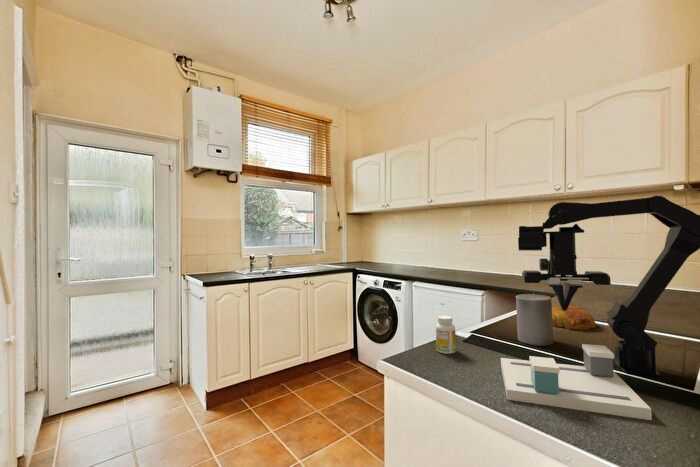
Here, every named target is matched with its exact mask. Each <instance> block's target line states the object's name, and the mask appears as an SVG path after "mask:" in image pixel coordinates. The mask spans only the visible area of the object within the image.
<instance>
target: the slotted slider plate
mask: <svg viewBox="0 0 700 467" xmlns="http://www.w3.org/2000/svg"><path fill="white" fill-rule="evenodd" d="M556 364H557V365H558V367H559V370H560V374H558V384H559V394H556V393H548V392H541V391H535V389H534V386H533V383H532V381H531V363H530V361H529V360H526V359H517V358H516V359H515V358H505V357H500V369H501V374H502V378H503V384H504V389H505V395H506V396H505V397H506V400H507V401H508V400H509V401H514V402H515V401H516V402H520V403H522V402H523V403H528V404H535V405H543V406H550V407H557V408H562V409H564V408H565V409H568V410H569V409H570V410H577V411H584V412H592V413H598V414H605V415H611V416H618V417H619V416H620V417H626V418H631V419H632V418H633V419H638V420H647V421H652V420H653V419H652V418H653V417H652V408H651V407H650V406H649V405H648V404H647V403H646V402H645V401H644V400H643V399H642V398H641V397H640V396H639V395H638V394H637V393H636V392H635V391H634V390H633V389H632V388H631V387H630V386H629V385H628V384H627V383H626V382H625V381H624V380H623V379H622V378H621V377H620V376H619V375H618V374H617V373H616V372H615V371H614V370H613V377H609V376H600V375H591V374H590V373H589V371H588V370H587V369H586V368H585V367H584V365H574V364H564V363H556Z"/></svg>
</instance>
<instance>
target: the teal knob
mask: <svg viewBox="0 0 700 467" xmlns="http://www.w3.org/2000/svg"><path fill="white" fill-rule="evenodd" d="M528 359H529V360H528V361H530V363H531V381H532V383H533V386H534V389H535V391H541V392H548V393H556V394H559V384H558V374H560V370H559V367H558V365H557V364H558V363H557V362H556V361H555V359H554V358H553V357H542V356H532V355H529V358H528Z"/></svg>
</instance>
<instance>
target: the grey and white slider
mask: <svg viewBox="0 0 700 467" xmlns="http://www.w3.org/2000/svg"><path fill="white" fill-rule="evenodd" d="M581 348H582V350H583V352H582V353H583V366H584V367H585V368H586V369H587V370H588V371H589V373H590V374H591V375H600V376H609V377H613V371H614V359H615V352H614V353H613V351H611V349H609V348H608V347H607V346H606V345H601V344H599V345H598V344H589V343H587V344H586V343H582V344H581Z"/></svg>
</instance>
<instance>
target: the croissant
mask: <svg viewBox="0 0 700 467" xmlns="http://www.w3.org/2000/svg"><path fill="white" fill-rule="evenodd" d="M552 320H553V326H555V327H559V328H562V329H566V330H577V331H578V330H579V331H581V330H586V331H587V330H589V329H594V328H595V327H596V326H597V323H596V321H595V319H594V317H593V316H592V315H591V314H590V312H588V311H587V310H586V309H585V308H584V307H582V306H577V305H571V304H569V306H568V308H567V310H566V311H563V310H562V308H561V306H560V305H553V306H552Z"/></svg>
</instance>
